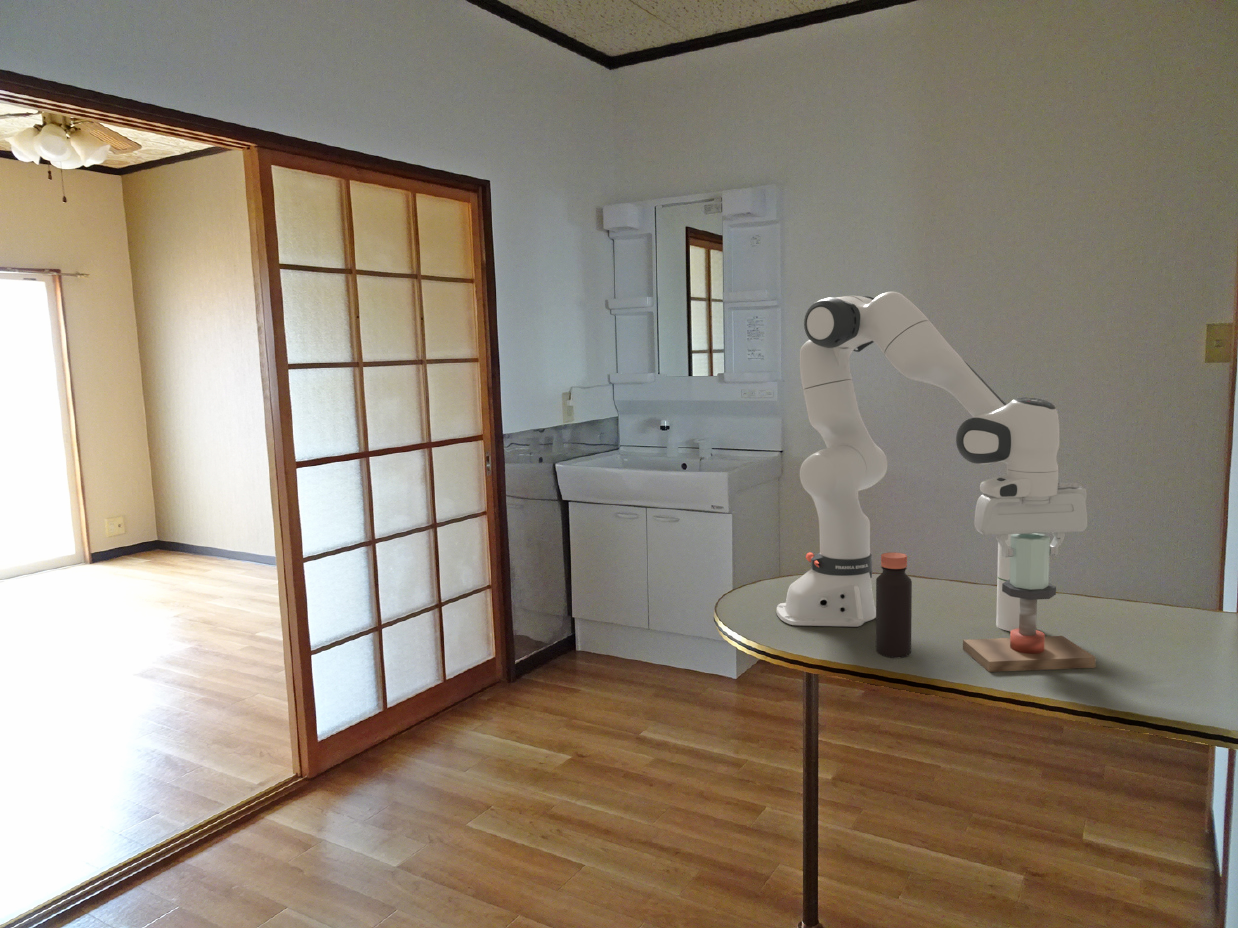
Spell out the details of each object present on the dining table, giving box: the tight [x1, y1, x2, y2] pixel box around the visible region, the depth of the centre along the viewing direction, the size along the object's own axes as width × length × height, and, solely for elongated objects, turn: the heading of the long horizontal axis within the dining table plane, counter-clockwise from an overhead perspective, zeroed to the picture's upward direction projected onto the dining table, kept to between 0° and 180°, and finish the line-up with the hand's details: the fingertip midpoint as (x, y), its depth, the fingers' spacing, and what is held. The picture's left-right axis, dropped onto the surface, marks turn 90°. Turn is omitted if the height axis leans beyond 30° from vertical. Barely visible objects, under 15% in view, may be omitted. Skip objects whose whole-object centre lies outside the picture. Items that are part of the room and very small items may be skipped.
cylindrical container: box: [995, 534, 1020, 632], centre depth 184 cm, size 7×7×25 cm
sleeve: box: [1010, 533, 1051, 590], centre depth 165 cm, size 6×6×10 cm
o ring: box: [1002, 579, 1057, 601], centre depth 166 cm, size 9×9×2 cm
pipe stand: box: [962, 598, 1097, 673], centre depth 166 cm, size 20×12×16 cm, turn 91°
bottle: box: [875, 551, 913, 658], centre depth 172 cm, size 7×7×20 cm
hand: (1029, 555), depth 165 cm, fingers open, 7 cm apart
